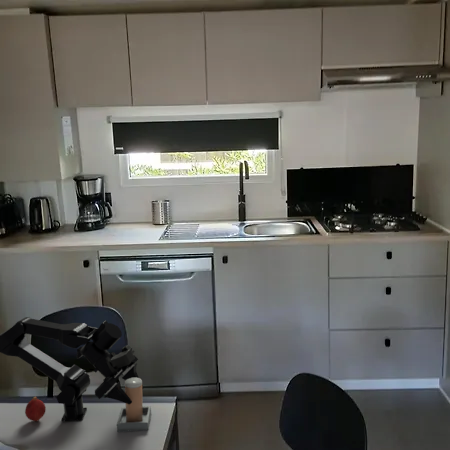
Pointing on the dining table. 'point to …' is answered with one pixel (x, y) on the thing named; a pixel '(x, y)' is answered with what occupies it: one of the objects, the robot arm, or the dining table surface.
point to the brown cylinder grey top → (134, 400)
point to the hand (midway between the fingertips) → (137, 396)
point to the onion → (35, 409)
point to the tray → (134, 426)
